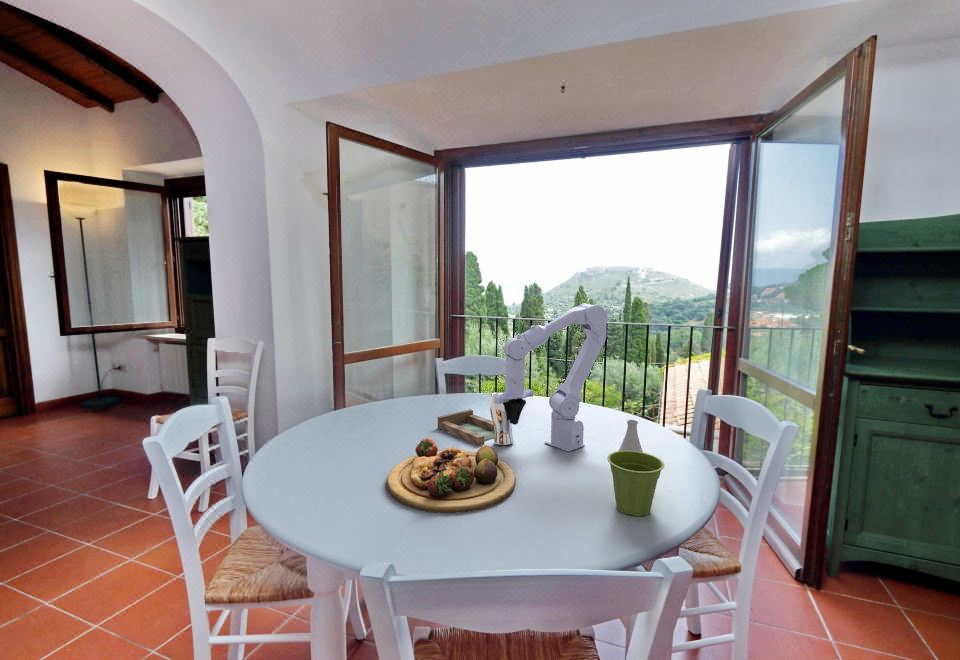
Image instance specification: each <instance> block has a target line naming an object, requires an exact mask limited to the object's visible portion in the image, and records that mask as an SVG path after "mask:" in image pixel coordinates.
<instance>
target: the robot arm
mask: <svg viewBox="0 0 960 660" xmlns="http://www.w3.org/2000/svg"><path fill="white" fill-rule="evenodd" d="M608 320H609V316H608V312H607V311H606V310H605V308H604V307H603V306H601V305H598V304H589V303H586V302H585V303H580V304H579V305H577V306H574V307H572V308H570V309H569V310H568V311H566V312H564V313H563V314H561V315H559V316H557V318H554V319H553V320H551V321H550V322H548V323H546V324H545V325H544V326H543V325H540V324H537V325H534V324H532V325H531V326H529V327H530V328H529V329H528V330H527V331H524V332H522V333H521V334H520V333H518V334H516V335H515V336H516V337H510V338H508V339H507V340H506V341H505V343H504V344H503V347H502V349H503V353H504V354H505V365H504V366H505V368H504V369H505V370H504V372H505V373H504V380H505V381H504V392H505V393H503V394H500V395H498V396H495V397H494V403H496V404H501V403H503V404H504V406H505V408H506V410H507V413H508V416H509V420H510V423H511V424H512V425H515V426H516V425H518V424H519V421H520V417H521V413H522V411H523V409H524V407H525V406H526V404H527V400H526V398H528V397H530V398H533V397H534V390H533V389H528V388H527V389H525V370H526V368H525V366H526V364H525V359H526V357H527V355H528V353H529V352H531V351H533V350H535V349H537V348H539V347H541V346H542V345H544V344H545V343H547V342H548V340H549V338H550V336H553V335H554V334H555V333H558V332H560V331H562V330H564V329H566V328H567V327H569V326H572V325H580V326H581V327H582V328H583V331H584V333H585V336H586V338H585V339H584V342H583V344H582V346H581V348H580V350H579V352H578V354H577V356H576V357H575V361H574V362H573V365H572V366H571V368H570V370H569V372H568V375H567V376H566V378H565V380H564V382H563V383H561V384H560V385H558V387H557V389H556V390H555V391H554V392H553V393H551V395H550V397H549V399H548V400H549V401H548V403H549V407H550V408H551V409H552V412H551V417H550V418H551V422H550V423H551V424H550V430H551V431H550V439H549V440H545V441H544V444H546V445H548V446H552V447H554V448H557V449H560V450H562V451H566V452H572V451H574V450H577V449H579V448H582V447H583V448H584V447H585V443H584V428H585V427H584V423H583V422H582V421H581V420H579V419H578V418H577V417H576V416H577V415H578V414H579V411H580V403H581V401H582V394H581V390H582V388H583V386H584V384H585V382H586V381H587V378H588V376H589V374H590V372H591V370H592V368H593V366H594V364H595V362H596V360H597V358H598V356H599V354H600V352H601V351H602V348H603V346H604V344H605V342H606V339H607V323H608Z"/></svg>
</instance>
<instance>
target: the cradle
mask: <svg viewBox="0 0 960 660" xmlns="http://www.w3.org/2000/svg"><path fill="white" fill-rule="evenodd" d="M463 423H464V424H463ZM459 424H460V425H459ZM438 428H439V429H438ZM437 429H438V430H440V429H442V430H441V431H443V430H444V431H443V432H445V431H446V432H445V433H447V432H449V433H448V434H450V433H451V434H450V435H452V434H453V435H452V436H454V435H455V437H457V436H458V437H457V438H459V437H460V439H462V440H465V441H466V440H467V442H469V441H470V442H469V443H471V442H472V443H471V444H473V443H474V445H476V446H482V445H485V442H486V441H488V440H492V438H493V439H494V436H495V431H494V426H493V421H492V419H491V420H490V419H487V418H486V417H482V416H479V415H476V414H474V410H473V409H466V410H462V411H461V410H460V411H457V412H454V413H448V414H444V415H440V416H437ZM481 444H482V445H481Z"/></svg>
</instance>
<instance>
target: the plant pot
mask: <svg viewBox="0 0 960 660" xmlns="http://www.w3.org/2000/svg"><path fill="white" fill-rule="evenodd" d="M607 461H608V463H609V465H610V471H611V474H612V481H613V489H614V490H613V491H614V499H615V506H616V508H617V509H618V510H619V511H620V512H621V513H623V514H626V515H632V516H635V517H644V516H646V515H649V514H650V512H651V509H652V507H653V506H652V505H653V501H654V496H655V492H656V489H657V484H658V480H659V478H660V476H661V472H662V470H664V468H665V463H664V461H663V460H662V459H661V458H659V457H657V456H655V455H653V454H650V453H646V452H644V451H643V452H638V451H619V450H617V451H613V452H611V453H609V454H608V455H607Z"/></svg>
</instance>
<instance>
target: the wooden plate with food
mask: <svg viewBox="0 0 960 660" xmlns="http://www.w3.org/2000/svg"><path fill="white" fill-rule="evenodd" d="M415 453H416V455H415V456H414V455H413V456H411V457H409V458H406V459H405V460H403V461H401V462H399V463H398V464H396V465H395V466H394V467H393V468H392V469H391V471H390V472H389V473H388V475H387V477H386V488H387V489H388V490H387V491H388V492H389V494H390V495H391V496H392V497H393V498H394V499H395V501H398V503H400V504H403V505H404V504H405V506H406V507H409V506H410V508H412V507H413V508H412V509H415V508H416V510H419V509H420V510H419V511H423V510H425V511H424V512H429V511H431V512H430V513H437V512H440V513H441V514H457V513H456V512H461V513H469V512H468V511H470V512H474V510H476V511H479V510H480V511H481V510H484V509H486V508H487V509H488V508H490V507H492V506H496V505H498V504H500V503H501V502H503V501H505V500H506V499H507V498H508V497H509V496H510V495H511V494H512V493H513V491H514V490H515V487H516V483H517V479H516V478H517V477H516V475H515V473H514V471H513V469H512V467H511V466H509V465H508V464H507V463H505V462H504V461H503V460H501V459H499V456H498V454H497V452H496V451H495V450H494V449H493V448H492V447H490V446H489V445H487V444H486V445H485V444H482V445H480V448H478V450H477V451H472V450H471V451H470V450H461V449H460V448H458V447H455V446H452V447H451V448H450V447H447V448H445V449H443V450H439V448H438V445H437V444H436V442H435V441H434V439H431V438H430V437H426V438H423V439H422V440H420V442H419V443H418V444H416V447H415Z"/></svg>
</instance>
